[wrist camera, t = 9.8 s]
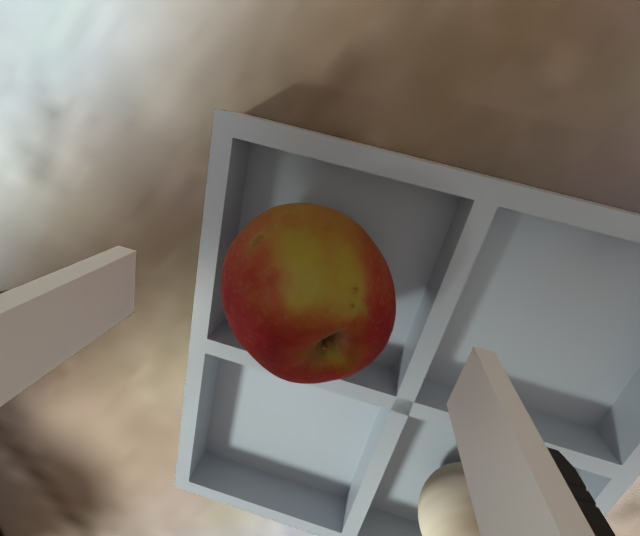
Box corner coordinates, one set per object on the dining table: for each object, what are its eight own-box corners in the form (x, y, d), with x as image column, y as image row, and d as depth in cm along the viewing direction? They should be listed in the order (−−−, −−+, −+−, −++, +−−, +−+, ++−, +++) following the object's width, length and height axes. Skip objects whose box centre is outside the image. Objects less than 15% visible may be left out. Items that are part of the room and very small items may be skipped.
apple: (283, 335, 22) (233, 435, 15) (237, 210, 20) (150, 255, 12) (406, 312, 20) (418, 414, 13) (371, 171, 18) (361, 196, 10)
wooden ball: (402, 490, 25) (407, 591, 19) (431, 428, 23) (447, 522, 17) (487, 518, 24) (517, 630, 19) (526, 457, 22) (573, 564, 17)
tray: (198, 446, 28) (174, 486, 25) (243, 113, 19) (214, 108, 16) (511, 550, 26) (529, 607, 23) (734, 237, 17) (815, 260, 14)
